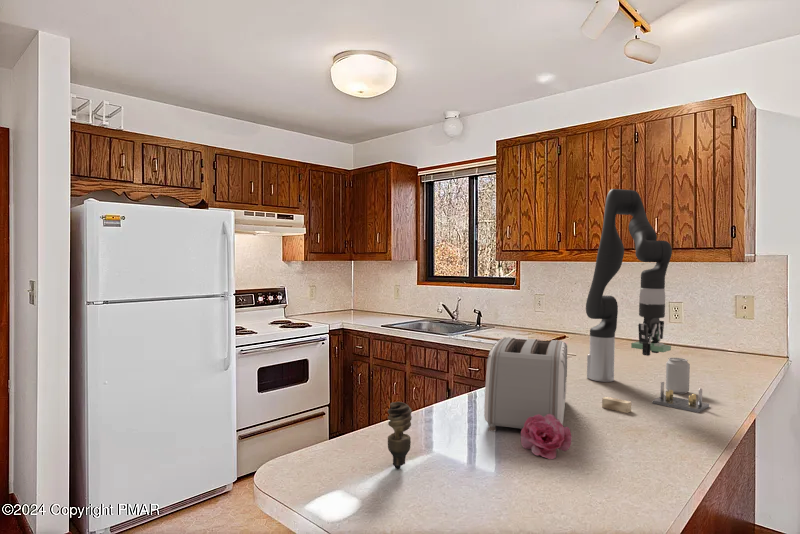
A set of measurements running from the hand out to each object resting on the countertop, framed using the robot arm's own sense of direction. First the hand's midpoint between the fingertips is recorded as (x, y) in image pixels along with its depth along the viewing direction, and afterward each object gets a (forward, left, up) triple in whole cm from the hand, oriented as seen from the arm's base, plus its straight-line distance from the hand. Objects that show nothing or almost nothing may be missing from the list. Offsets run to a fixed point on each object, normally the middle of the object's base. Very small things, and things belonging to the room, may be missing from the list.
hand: (650, 353), depth 169 cm
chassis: (+6, +10, -17) cm, 21 cm away
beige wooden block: (-6, -11, -17) cm, 21 cm away
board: (0, 0, +2) cm, 2 cm away
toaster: (-23, -35, -18) cm, 45 cm away
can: (-1, +28, -17) cm, 33 cm away
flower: (-2, -61, -18) cm, 63 cm away
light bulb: (-19, -94, -17) cm, 98 cm away
